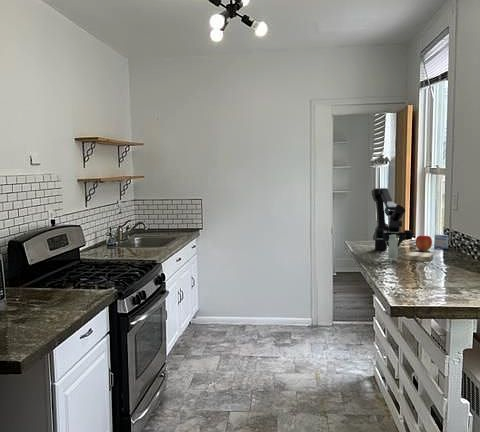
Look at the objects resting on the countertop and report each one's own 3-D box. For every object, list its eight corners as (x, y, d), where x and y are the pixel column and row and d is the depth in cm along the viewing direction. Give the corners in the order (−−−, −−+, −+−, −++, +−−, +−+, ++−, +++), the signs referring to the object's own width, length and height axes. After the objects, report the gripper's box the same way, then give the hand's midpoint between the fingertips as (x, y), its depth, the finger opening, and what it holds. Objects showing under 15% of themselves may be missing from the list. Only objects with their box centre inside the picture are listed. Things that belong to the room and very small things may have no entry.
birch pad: (405, 259, 268) (405, 255, 268) (409, 255, 279) (409, 251, 279) (429, 261, 262) (430, 257, 261) (433, 257, 273) (433, 253, 273)
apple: (434, 252, 290) (434, 236, 289) (418, 252, 290) (419, 236, 289) (428, 249, 299) (428, 233, 298) (413, 249, 300) (413, 233, 299)
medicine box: (433, 248, 304) (434, 234, 304) (434, 247, 308) (435, 234, 307) (447, 249, 301) (447, 235, 300) (447, 248, 305) (448, 234, 304)
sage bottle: (387, 257, 264) (387, 234, 263) (389, 256, 269) (390, 233, 267) (396, 258, 262) (397, 235, 260) (398, 257, 266) (399, 234, 265)
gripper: (377, 214, 269) (375, 236, 260) (412, 215, 263) (411, 238, 254) (377, 226, 278) (375, 248, 269) (411, 228, 271) (410, 250, 262)
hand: (393, 246), depth 263 cm, fingers closed on sage bottle, 5 cm apart
